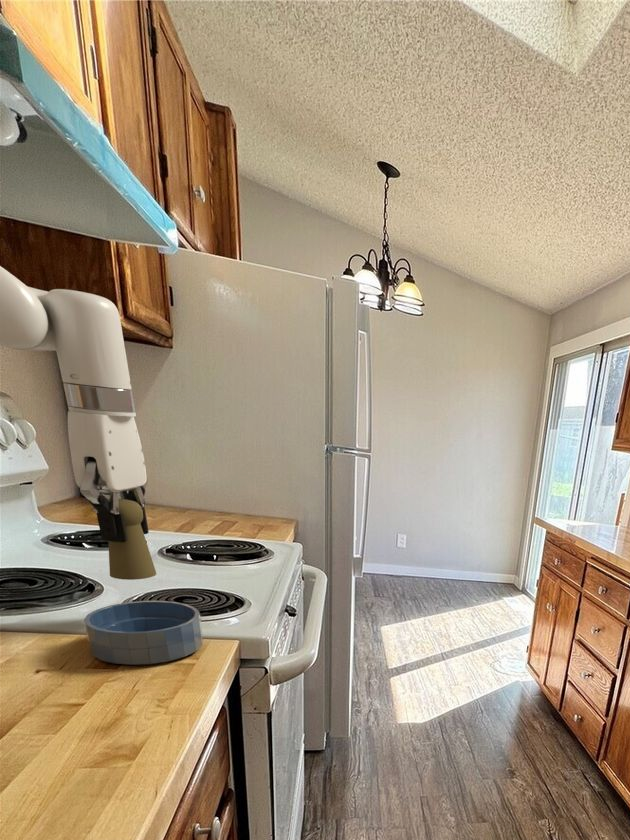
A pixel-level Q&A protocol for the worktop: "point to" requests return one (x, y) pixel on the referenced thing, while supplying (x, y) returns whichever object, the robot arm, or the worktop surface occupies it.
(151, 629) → the bowl
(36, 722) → the worktop surface
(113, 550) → the olive pawn
